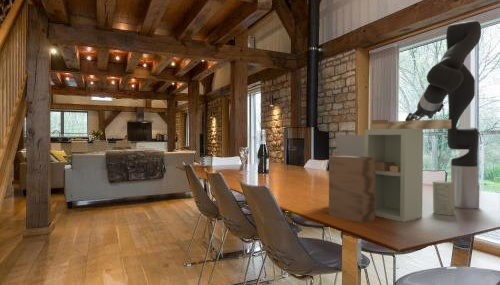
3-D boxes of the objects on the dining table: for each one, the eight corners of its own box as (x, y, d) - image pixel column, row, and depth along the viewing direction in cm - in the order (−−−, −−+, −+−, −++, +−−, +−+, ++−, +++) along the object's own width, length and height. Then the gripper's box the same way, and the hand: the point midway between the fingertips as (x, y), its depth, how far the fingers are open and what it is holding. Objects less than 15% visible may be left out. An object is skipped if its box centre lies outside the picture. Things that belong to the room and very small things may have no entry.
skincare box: (454, 214, 123) (455, 182, 123) (449, 216, 121) (450, 183, 120) (437, 211, 128) (437, 180, 128) (432, 212, 126) (432, 181, 125)
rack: (382, 209, 131) (382, 121, 131) (422, 217, 118) (423, 119, 118) (363, 213, 125) (364, 120, 124) (404, 222, 111) (405, 118, 111)
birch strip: (374, 129, 128) (374, 122, 128) (380, 130, 130) (380, 122, 130) (445, 128, 107) (445, 119, 106) (451, 128, 109) (451, 119, 109)
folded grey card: (369, 204, 141) (370, 135, 140) (373, 207, 135) (374, 135, 135) (336, 203, 142) (336, 135, 142) (338, 206, 137) (338, 135, 136)
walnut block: (342, 211, 127) (343, 155, 126) (374, 219, 115) (375, 157, 115) (328, 214, 122) (329, 156, 122) (360, 222, 111) (361, 158, 110)
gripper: (442, 87, 127) (430, 107, 141) (407, 101, 127) (399, 120, 142) (454, 102, 123) (440, 121, 138) (418, 117, 124) (408, 134, 139)
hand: (419, 120), depth 140 cm, fingers open, 8 cm apart
